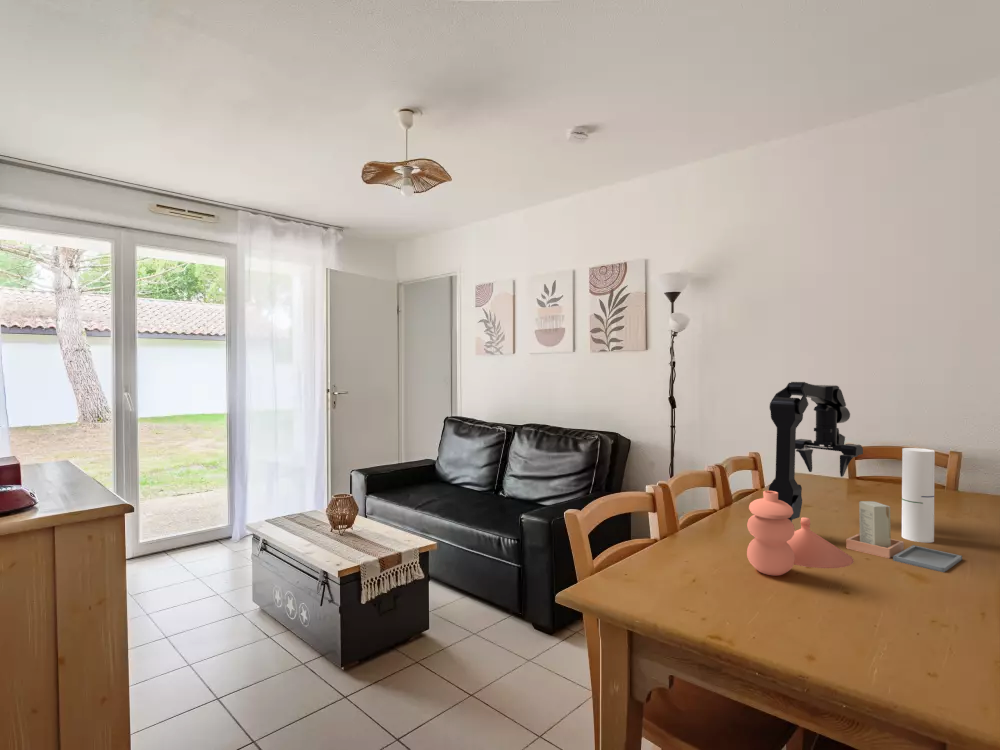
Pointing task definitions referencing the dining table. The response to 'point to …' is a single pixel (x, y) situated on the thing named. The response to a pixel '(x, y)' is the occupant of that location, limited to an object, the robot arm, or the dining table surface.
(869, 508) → the skincare box
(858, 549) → the holder
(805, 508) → the dining table surface
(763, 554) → the ceramic vessels
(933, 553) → the tray
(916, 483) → the cylindrical container
